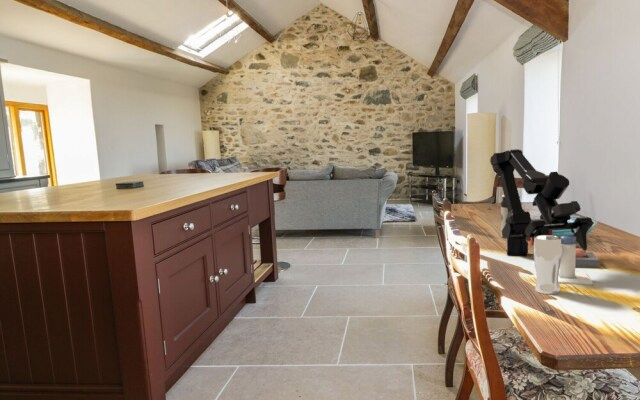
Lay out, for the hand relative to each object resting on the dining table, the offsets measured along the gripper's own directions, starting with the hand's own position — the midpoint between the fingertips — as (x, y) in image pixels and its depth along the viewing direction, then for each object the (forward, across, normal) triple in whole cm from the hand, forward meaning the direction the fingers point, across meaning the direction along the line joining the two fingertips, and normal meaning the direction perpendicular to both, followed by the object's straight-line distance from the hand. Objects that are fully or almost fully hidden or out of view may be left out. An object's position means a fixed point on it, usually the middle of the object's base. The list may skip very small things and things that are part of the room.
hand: (570, 251), depth 130 cm
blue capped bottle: (+5, 0, +7) cm, 8 cm away
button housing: (-5, +13, +17) cm, 22 cm away
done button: (-6, +13, +16) cm, 21 cm away
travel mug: (-36, +12, +48) cm, 61 cm away
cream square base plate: (+5, 0, +7) cm, 9 cm away
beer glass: (+12, -12, +1) cm, 16 cm away
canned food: (-24, +15, +36) cm, 46 cm away
